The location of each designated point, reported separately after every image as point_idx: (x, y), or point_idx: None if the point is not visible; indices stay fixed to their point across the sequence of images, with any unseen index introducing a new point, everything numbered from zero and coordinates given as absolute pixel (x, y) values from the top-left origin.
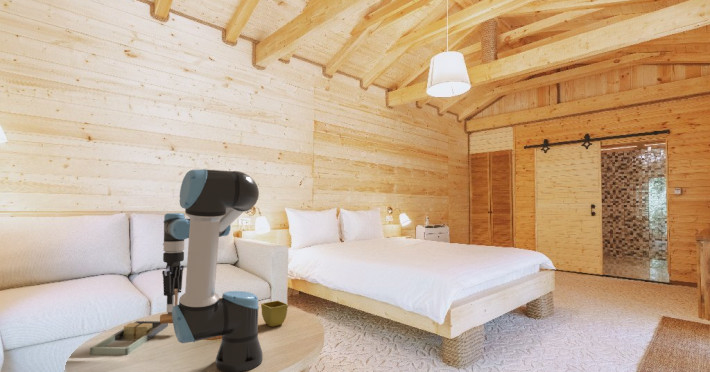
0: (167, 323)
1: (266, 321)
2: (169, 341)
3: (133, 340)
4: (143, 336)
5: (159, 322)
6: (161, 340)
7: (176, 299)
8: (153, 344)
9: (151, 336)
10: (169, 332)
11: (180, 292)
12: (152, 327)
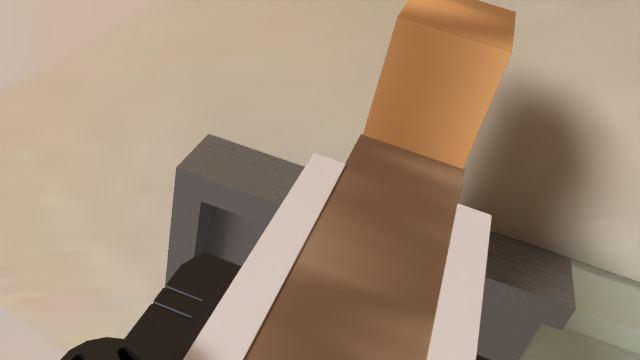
0: (192, 160)
1: None
2: (600, 77)
3: (513, 356)
4: (590, 332)
5: (198, 232)
6: (532, 153)
7: (328, 317)
8: (622, 208)
9: (492, 253)
10: (315, 107)
11: (142, 351)
12: (220, 253)
